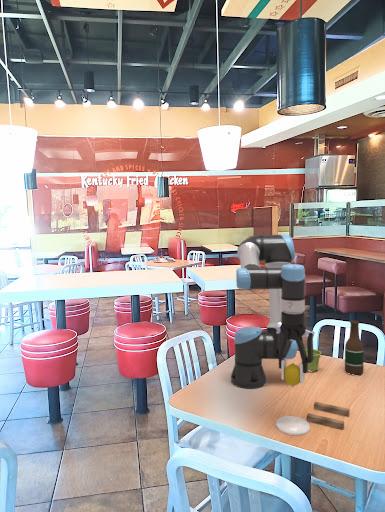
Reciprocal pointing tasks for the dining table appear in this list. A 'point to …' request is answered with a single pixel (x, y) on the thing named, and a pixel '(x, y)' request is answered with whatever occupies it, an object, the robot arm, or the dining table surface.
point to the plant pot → (314, 363)
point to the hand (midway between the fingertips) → (292, 379)
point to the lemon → (292, 374)
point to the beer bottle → (354, 351)
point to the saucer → (292, 425)
